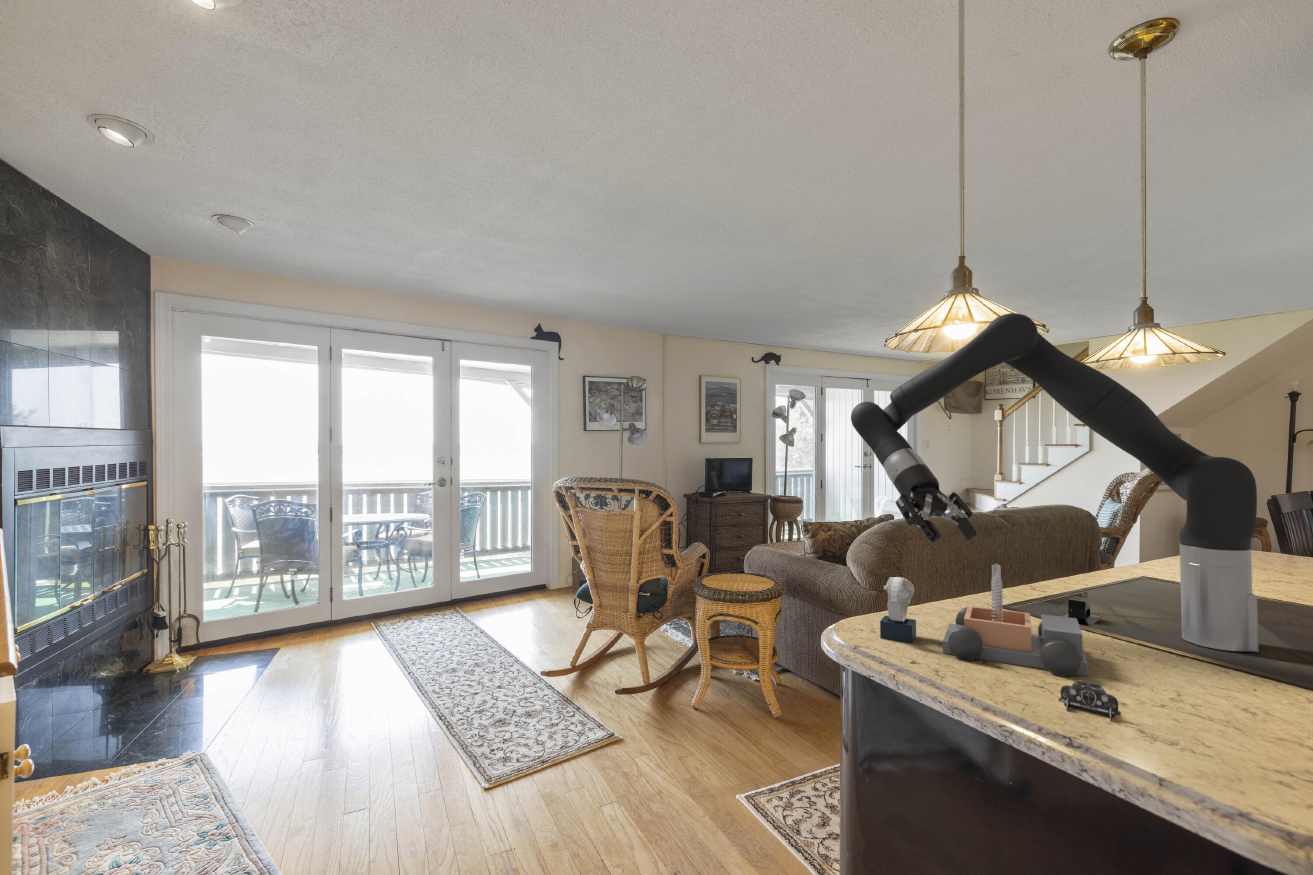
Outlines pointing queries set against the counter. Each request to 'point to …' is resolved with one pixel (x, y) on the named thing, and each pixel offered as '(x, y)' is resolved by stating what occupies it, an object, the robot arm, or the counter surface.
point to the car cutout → (1089, 698)
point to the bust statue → (898, 612)
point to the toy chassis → (1018, 640)
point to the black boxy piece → (1081, 611)
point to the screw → (996, 594)
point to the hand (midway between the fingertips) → (955, 538)
